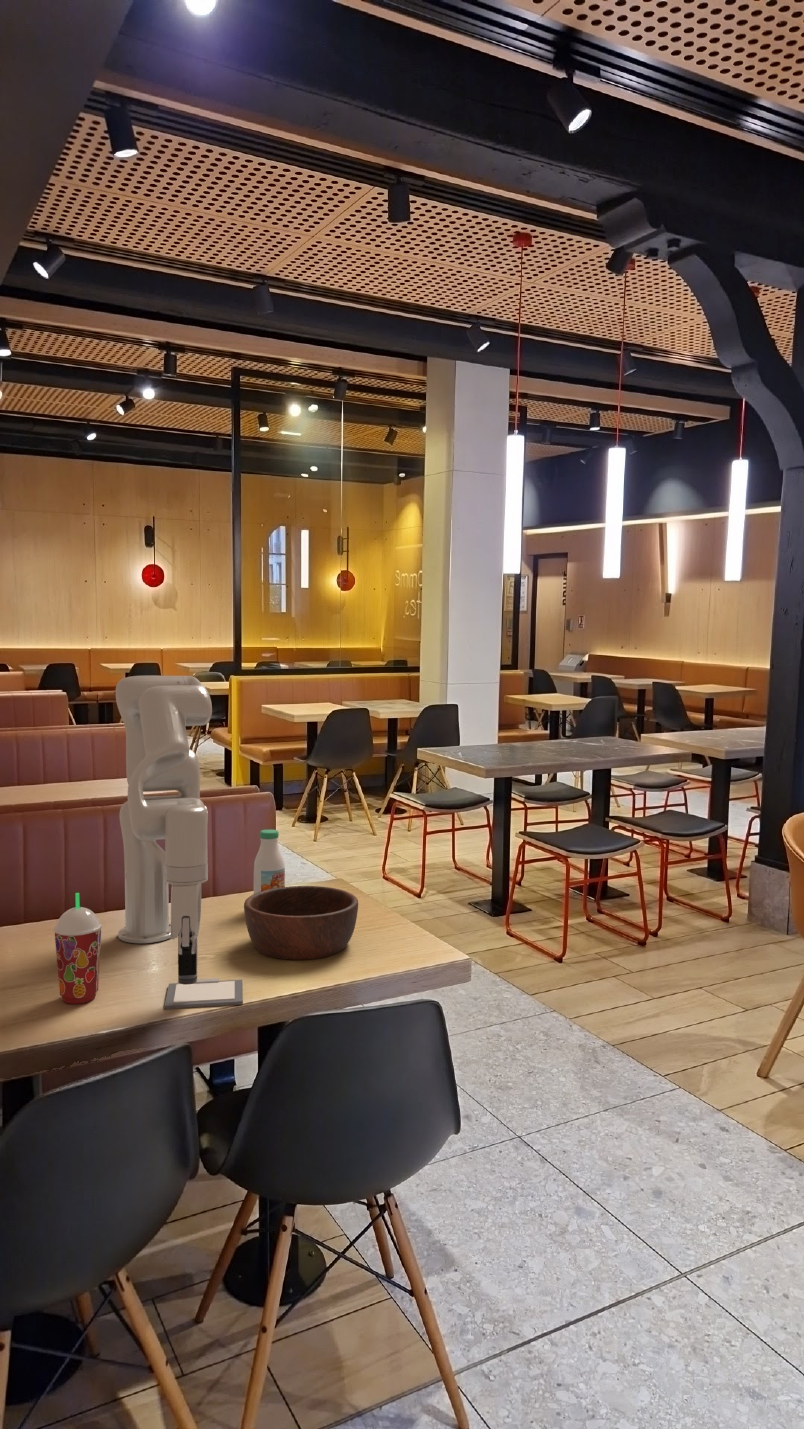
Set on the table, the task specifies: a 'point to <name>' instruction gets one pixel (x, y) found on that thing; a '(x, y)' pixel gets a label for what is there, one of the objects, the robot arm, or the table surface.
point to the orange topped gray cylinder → (189, 978)
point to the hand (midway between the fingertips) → (187, 970)
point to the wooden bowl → (301, 921)
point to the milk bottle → (269, 863)
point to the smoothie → (78, 954)
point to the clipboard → (204, 993)
